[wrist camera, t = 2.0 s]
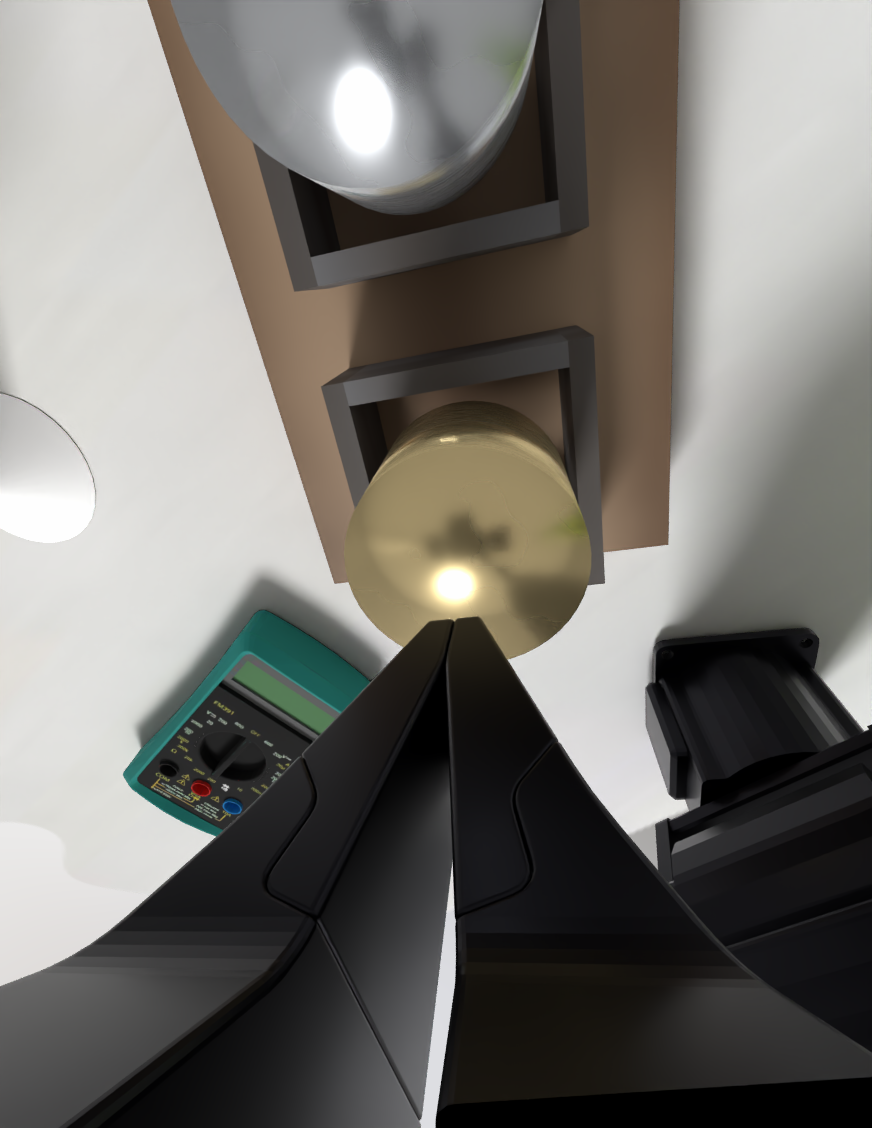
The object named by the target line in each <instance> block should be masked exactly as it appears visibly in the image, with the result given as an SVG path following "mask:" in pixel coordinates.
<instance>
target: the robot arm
mask: <svg viewBox="0 0 872 1128" xmlns="http://www.w3.org/2000/svg"><path fill="white" fill-rule="evenodd" d="M806 638H807V640H805V641H804V642H801V641H802V640H803V639H806ZM818 647H819V638H818V637H817V636H816V634H815V633H814V632H813V631H812V630H810V629H808V628H797V629H786V630H775V631H763V632H752V633H740V634H729V635H718V636H706V637H695V638H683V639H672V640H663V641H660V642H658V643H657V644H656V645H655V646H654V649H653V683H649V684H648V685H647V687H646V728H647V731H648V734H649V737H650V740H651V743H652V746H653V749H654V752H655V755H656V758H657V761H658V764H659V767H660V770H661V773H662V776H663V779H664V782H665V785H666V788H667V791H668V794H669V795H670V796H671V797H673V798H674V799H675V800H681V799H685V801H686V803H687V806H688V809H689V812H687V813H685V814H682V815H680V816H678V817H676V818H674V819H671V820H670V819H669V818H667V819H665V820H663V821H660V822H658V823H656V824H655V827H656V843H657V858H658V870H657V869H656V868H655V866H654V865H653V864H652V863H651V862H650V861H649V859H648V858H647V857H646V856H645V855H644V853H643V852H642V851H641V850H640V849H639V848H638V846H637V845H636V844H635V843H634V842H633V841H632V839H631V838H630V837H629V836H628V835H627V833H626V832H625V831H624V830H623V829H622V828H621V826H620V825H619V824H618V823H617V821H616V820H615V819H614V818H613V816H612V815H611V814H610V813H609V811H608V810H607V809H606V808H605V806H604V805H603V804H602V803H601V801H600V800H599V799H598V798H597V796H596V795H595V794H594V793H593V791H592V790H591V788H590V787H589V785H588V784H587V783H586V781H585V780H584V778H583V777H582V775H581V774H580V772H579V771H578V770H577V768H576V767H575V765H574V764H573V762H572V761H571V759H570V758H569V756H568V754H567V753H566V751H565V750H564V748H563V746H562V745H561V744H560V743H559V742H558V739H557V737H556V736H555V734H554V733H553V731H552V730H551V728H550V726H549V725H548V723H547V722H546V720H545V718H544V717H543V715H542V714H541V712H540V711H539V709H538V707H537V706H536V704H535V703H534V701H533V700H532V698H531V696H530V695H529V693H528V692H527V690H526V688H525V687H524V685H523V684H522V682H521V681H520V679H519V677H518V676H517V674H516V673H515V671H514V669H513V668H512V666H511V665H510V663H509V662H508V660H507V658H506V657H505V655H504V654H503V652H502V650H501V649H500V647H499V646H498V644H497V643H496V641H495V639H494V638H493V636H492V635H491V633H490V631H489V630H488V628H487V627H486V625H485V624H484V622H483V620H482V619H481V618H480V617H479V616H472V617H463V618H457V619H456V620H455V622H454V620H452V619H443V620H433V621H429V622H428V623H427V624H426V625H425V626H424V627H423V628H422V629H421V630H420V631H419V632H418V633H417V634H416V635H415V636H414V637H413V638H412V639H411V640H410V641H409V643H408V644H407V645H406V646H405V647H404V648H403V649H402V650H401V651H400V652H399V653H398V654H397V655H396V656H395V657H394V658H393V659H392V660H391V661H390V662H389V663H388V664H387V665H386V667H385V668H384V669H383V670H382V671H381V672H380V673H379V674H378V675H377V676H376V677H375V678H374V679H373V680H372V681H371V682H370V683H369V684H368V685H367V686H366V687H365V688H364V689H363V690H362V692H361V693H360V694H359V695H358V696H357V697H356V698H355V699H354V700H353V701H352V702H351V703H350V704H349V705H348V706H347V707H346V708H345V709H344V710H343V711H342V712H341V713H340V714H339V716H338V717H337V718H336V719H335V720H334V721H333V722H332V723H331V724H330V725H329V726H328V727H327V728H326V729H325V730H324V731H323V732H322V733H321V734H320V735H319V736H318V737H317V738H316V739H315V741H314V742H313V743H312V744H311V745H310V746H309V747H308V748H307V749H306V750H305V751H304V752H303V754H302V756H303V757H298V758H297V759H296V760H295V761H294V762H293V763H292V764H291V765H290V766H289V767H288V768H287V769H286V770H285V772H284V773H283V774H282V775H281V776H280V777H279V778H278V779H277V780H276V781H275V782H274V783H273V784H272V785H271V786H270V787H269V788H268V789H267V790H266V791H265V792H264V793H263V794H262V795H261V796H260V797H259V798H258V799H257V800H256V801H255V802H254V803H253V804H252V805H250V806H249V807H248V808H247V809H246V810H245V811H244V812H243V813H242V814H241V815H240V816H238V817H237V818H236V819H235V820H234V821H233V822H232V823H231V824H230V825H229V826H228V827H226V828H225V829H224V830H223V831H222V832H221V833H220V834H219V835H218V836H217V837H216V838H214V839H213V840H212V841H211V842H210V843H209V844H208V845H207V846H205V847H204V848H203V849H202V850H201V851H200V852H199V853H197V854H196V855H195V856H194V857H193V858H192V859H191V860H190V861H188V862H187V863H186V864H185V865H184V866H183V867H182V868H181V869H179V870H178V871H177V872H176V873H175V874H174V875H173V876H171V877H170V878H169V879H168V880H167V881H166V882H165V883H164V884H162V885H161V886H160V887H159V888H158V889H157V890H156V891H155V892H153V893H152V894H151V895H150V896H149V897H148V898H147V899H145V900H144V901H143V902H142V903H141V904H140V905H139V906H138V907H136V908H135V909H134V910H133V911H132V912H131V913H130V914H129V915H127V916H126V917H125V918H124V919H123V920H121V921H120V922H119V923H118V924H117V925H115V926H114V927H113V928H112V929H111V930H109V931H108V932H107V933H105V934H104V935H103V936H101V937H100V938H98V939H97V940H96V941H94V942H93V943H91V944H90V945H89V946H87V947H85V948H83V949H82V950H80V951H79V952H77V953H75V954H74V955H72V956H70V957H68V958H66V959H65V960H62V961H60V962H58V963H56V964H54V965H52V966H50V967H48V968H46V969H43V970H41V971H39V972H36V973H34V974H31V975H28V976H26V977H23V978H21V979H18V980H16V981H13V982H10V983H7V984H5V985H2V986H0V1128H421V1124H420V1122H419V1120H420V1119H421V1117H422V1111H423V1102H424V1094H425V1086H426V1077H427V1069H428V1061H429V1051H430V1044H431V1035H432V1027H433V1019H434V1010H435V1002H436V994H437V985H438V977H439V969H440V960H441V952H442V944H443V934H444V927H445V918H446V910H447V902H448V893H449V885H450V877H451V868H452V860H453V882H454V907H455V919H456V926H455V930H456V977H455V978H456V979H455V989H454V996H453V1003H452V1010H451V1017H450V1025H449V1031H448V1038H447V1045H446V1052H445V1059H444V1066H443V1073H442V1080H441V1086H440V1094H439V1100H438V1107H437V1114H436V1128H872V725H870V726H867V727H868V728H869V730H866V731H864V730H863V729H862V728H861V726H860V725H859V724H858V723H857V721H856V720H855V719H854V718H853V717H852V715H851V714H850V713H849V712H848V710H847V709H846V708H845V707H844V705H843V704H842V703H841V702H840V700H839V699H838V698H837V697H836V696H835V694H834V693H833V692H832V691H831V689H830V688H829V687H828V686H827V684H826V683H825V682H824V681H823V680H822V678H821V677H820V676H819V675H818V673H817V672H816V671H815V670H814V668H815V663H816V657H817V652H818ZM666 650H670V652H669V653H666V654H662V653H663V652H664V651H666Z"/></svg>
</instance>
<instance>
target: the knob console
mask: <svg viewBox="0 0 872 1128" xmlns="http://www.w3.org/2000/svg"><path fill="white" fill-rule="evenodd" d="M147 1H148V4H149V7H150V10H151V13H152V16H153V19H154V22H155V26H156V29H157V32H158V35H159V38H160V41H161V44H162V47H163V50H164V54H165V57H166V60H167V63H168V66H169V69H170V72H171V75H172V78H173V82H174V85H175V88H176V91H177V94H178V97H179V100H180V103H181V107H182V110H183V113H184V116H185V119H186V122H187V125H188V128H189V131H190V135H191V138H192V141H193V144H194V147H195V150H196V153H197V156H198V160H199V163H200V166H201V169H202V172H203V175H204V178H205V181H206V184H207V188H208V191H209V194H210V197H211V200H212V203H213V206H214V209H215V212H216V216H217V219H218V222H219V225H220V228H221V231H222V234H223V237H224V241H225V244H226V247H227V250H228V253H229V256H230V259H231V262H232V265H233V269H234V272H235V275H236V278H237V281H238V284H239V287H240V290H241V293H242V297H243V300H244V303H245V306H246V309H247V312H248V315H249V318H250V322H251V325H252V328H253V331H254V334H255V337H256V340H257V343H258V346H259V350H260V353H261V356H262V359H263V362H264V365H265V368H266V371H267V374H268V378H269V381H270V384H271V387H272V390H273V393H274V396H275V399H276V403H277V406H278V409H279V412H280V415H281V418H282V421H283V424H284V427H285V431H286V434H287V437H288V440H289V443H290V446H291V449H292V452H293V456H294V459H295V462H296V465H297V468H298V471H299V474H300V477H301V480H302V484H303V487H304V490H305V493H306V496H307V499H308V502H309V505H310V508H311V512H312V515H313V518H314V521H315V524H316V527H317V530H318V533H319V537H320V540H321V543H322V546H323V549H324V552H325V555H326V558H327V561H328V565H329V568H330V571H331V574H332V577H333V580H334V583H335V584H337V583H345V582H348V578H347V573H346V569H345V559H344V548H345V538H346V533H347V529H348V525H349V522H350V520H351V517H352V514H353V512H354V510H355V508H356V507H357V505H358V503H359V501H360V500H361V498H362V496H363V494H364V493H365V491H366V489H367V488H368V486H369V484H370V483H371V481H372V479H373V477H374V476H375V474H376V472H377V471H378V469H379V467H380V466H381V464H382V462H383V461H384V459H385V457H386V455H387V454H388V452H389V450H390V449H391V447H392V445H393V444H394V442H395V441H396V439H397V438H398V437H399V435H400V434H401V433H402V432H403V431H404V430H405V429H406V428H407V427H408V426H409V425H410V424H411V423H412V422H413V421H415V420H416V419H417V418H419V417H420V416H422V415H424V414H425V413H427V412H429V411H431V410H433V409H435V408H438V407H441V406H443V405H447V404H451V403H455V402H462V401H485V402H491V403H497V404H500V405H503V406H506V407H509V408H511V409H514V410H516V411H518V412H520V413H522V414H523V415H525V416H526V417H528V418H530V419H531V420H532V421H534V422H535V423H536V424H537V425H538V426H539V427H540V428H542V430H543V431H544V432H545V433H546V434H547V435H548V436H549V438H550V439H551V441H552V442H553V444H554V445H555V447H556V449H557V451H558V453H559V455H560V457H561V459H562V462H563V465H564V468H565V470H566V473H567V476H568V478H569V481H570V484H571V487H572V489H573V492H574V495H575V498H576V500H577V503H578V506H579V508H580V511H581V514H582V517H583V519H584V522H585V525H586V528H587V532H588V535H589V539H590V546H591V571H590V577H589V582H588V585H594V584H604V583H605V576H604V553H603V552H610V551H618V550H627V549H635V548H644V547H652V546H661V545H668V531H669V483H670V434H671V385H672V337H673V288H674V239H675V190H676V142H677V93H678V44H679V0H543V4H542V9H541V15H540V20H539V26H538V32H537V37H536V43H535V48H534V54H533V59H532V65H531V70H530V76H529V81H528V87H527V91H526V95H525V99H524V102H523V106H522V110H521V113H520V115H519V118H518V120H517V123H516V125H515V128H514V131H513V133H512V135H511V137H510V138H509V140H508V142H507V144H506V146H505V148H504V150H503V151H502V153H501V154H500V156H499V157H498V159H497V160H496V162H495V163H494V165H493V166H492V167H491V168H490V170H489V171H488V172H487V173H486V174H485V175H484V177H483V178H482V179H481V180H480V181H479V182H478V183H477V184H475V185H474V186H473V187H472V188H471V189H470V190H469V191H468V192H466V193H465V194H463V195H462V196H460V197H459V198H457V199H456V200H455V201H453V202H451V203H449V204H447V205H445V206H442V207H440V208H438V209H434V210H431V211H428V212H425V213H419V214H412V215H393V214H387V213H381V212H377V211H374V210H371V209H368V208H365V207H363V206H361V205H359V204H357V203H355V202H353V201H351V200H349V199H347V198H345V197H343V196H341V195H339V194H337V193H336V192H334V191H332V190H330V189H328V188H326V187H324V186H322V185H320V184H318V183H316V182H314V181H312V180H310V179H308V178H306V177H304V176H303V175H301V174H299V173H297V172H295V171H293V170H291V169H289V168H287V167H286V166H284V165H283V164H281V163H280V162H278V161H277V160H275V159H274V158H272V157H271V156H269V155H268V154H266V153H265V152H264V151H263V150H262V149H261V148H260V147H259V146H257V145H256V144H255V143H254V142H253V141H252V140H251V139H249V138H248V137H247V136H246V135H245V133H244V132H243V131H242V130H241V129H240V128H239V127H238V126H237V125H236V123H235V122H234V121H233V120H232V119H231V118H230V117H229V116H228V114H227V113H226V111H225V110H224V109H223V107H222V106H221V104H220V103H219V102H218V100H217V99H216V98H215V96H214V95H213V93H212V92H211V90H210V88H209V87H208V85H207V83H206V81H205V80H204V78H203V76H202V75H201V73H200V71H199V69H198V68H197V66H196V64H195V61H194V59H193V57H192V55H191V53H190V51H189V48H188V46H187V44H186V42H185V40H184V38H183V35H182V32H181V29H180V27H179V24H178V21H177V18H176V15H175V12H174V10H173V7H172V4H171V0H147Z"/></svg>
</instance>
